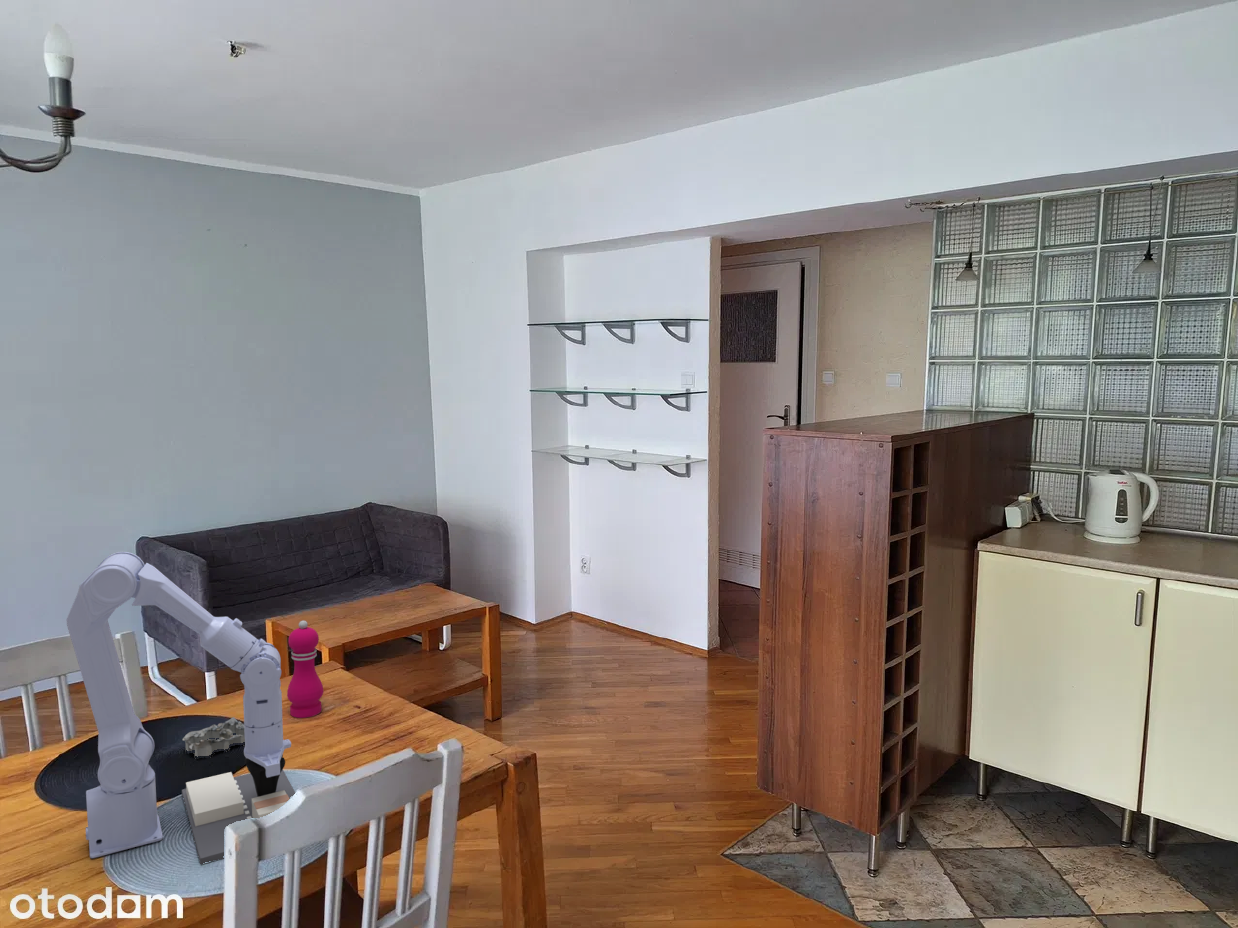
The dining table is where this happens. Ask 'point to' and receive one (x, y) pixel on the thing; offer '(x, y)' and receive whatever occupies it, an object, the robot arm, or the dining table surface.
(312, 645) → the pepper mill
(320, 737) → the dining table surface
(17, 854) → the dining table surface
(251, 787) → the mat
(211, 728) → the egg carton
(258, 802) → the stub
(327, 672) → the dining table surface
